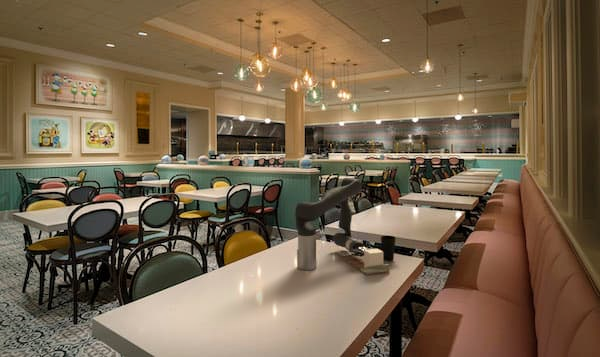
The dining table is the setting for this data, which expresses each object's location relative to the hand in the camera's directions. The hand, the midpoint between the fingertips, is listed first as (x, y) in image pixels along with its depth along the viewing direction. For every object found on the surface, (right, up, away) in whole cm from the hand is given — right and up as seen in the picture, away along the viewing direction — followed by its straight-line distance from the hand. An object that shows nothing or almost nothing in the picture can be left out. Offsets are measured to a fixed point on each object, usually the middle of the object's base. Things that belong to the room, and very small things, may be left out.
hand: (370, 256), depth 171 cm
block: (+1, -6, -2) cm, 6 cm away
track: (-2, -6, +7) cm, 10 cm away
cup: (+12, -5, +15) cm, 20 cm away
